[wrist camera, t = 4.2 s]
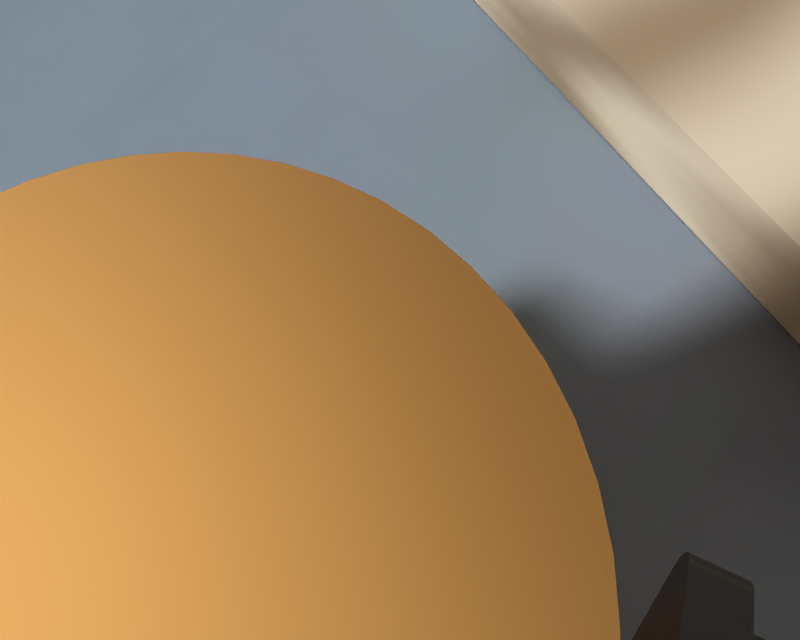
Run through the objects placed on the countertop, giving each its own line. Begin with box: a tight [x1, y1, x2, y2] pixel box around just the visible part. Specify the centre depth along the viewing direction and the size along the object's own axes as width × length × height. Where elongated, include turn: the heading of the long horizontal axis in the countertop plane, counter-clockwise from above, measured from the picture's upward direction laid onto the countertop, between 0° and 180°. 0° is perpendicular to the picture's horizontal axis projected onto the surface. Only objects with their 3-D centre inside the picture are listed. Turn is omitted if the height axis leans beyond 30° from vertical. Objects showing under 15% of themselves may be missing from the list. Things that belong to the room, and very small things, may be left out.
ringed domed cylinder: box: [0, 152, 620, 640], centre depth 9 cm, size 5×5×11 cm
